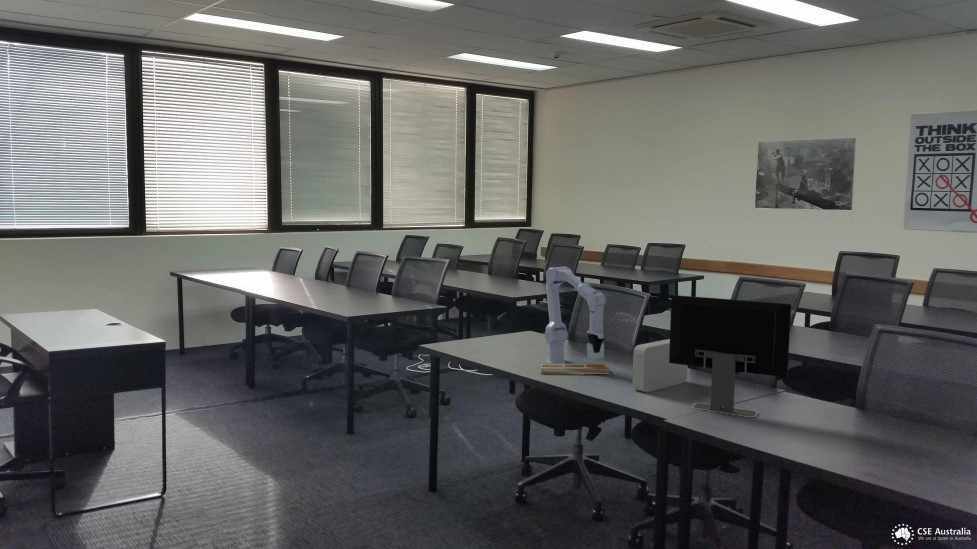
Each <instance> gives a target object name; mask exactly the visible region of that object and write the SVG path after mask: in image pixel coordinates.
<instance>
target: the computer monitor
mask: <svg viewBox="0 0 977 549" xmlns="http://www.w3.org/2000/svg"><path fill="white" fill-rule="evenodd" d="M791 316H792V304H791V303H787V302H783V303H782V302H770V301H758V300H757V301H755V300H746V299H745V300H743V299H733V298H732V299H731V298H717V297H705V296H704V297H703V296H694V295H693V296H692V295H691V296H690V295H678V294H673V295H671V297H670V325H669V339H670V350H669V363H673V364H681V365H688V366H691V367H697V368H699V367H700V368H703V370H705V369H706V368H707V369H711V386H710V388H711V390H710V403H706V402H705V403H704V402H695V403H694V404H693V405H692V406H691V408H694V409H693V410H695V409H698V410H697V411H702V410H707V411H706V412H709V411H713V412H712V413H715V412H720V413H719V414H722V413H725V414H724V415H728V414H731V415H730V416H735V415H738V416H737V417H741V416H744V417H743V418H748V417H755V418H757V416H758V415H759V412H758V411H757V410H752V409H746V408H739V407H735V388H736V386H735V384H736V374H738V373H744V375H747V374H757V375H763V376H772V377H780V378H787V377H788V375H789V371H788V370H789V357H790V356H789V354H790V339H791V338H790V334H791V318H792V317H791Z"/></svg>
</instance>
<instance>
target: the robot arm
mask: <svg viewBox="0 0 977 549" xmlns="http://www.w3.org/2000/svg"><path fill="white" fill-rule="evenodd" d="M545 277H546V278H545V280H546V281H545V282H546V283H545V287H546V288H545V289H546V298H547V307H548V308H547V309H548V317H549V318H548V319H549V323H548V324H547V325H546V327H545V333H544V340H545V341H546V342H547V344H548V346H547V347H548V352H547V353H548V354H547V355H548V356H547V358H546V361H547V362H546V363H552V364H566V361H565V360H566V359H565V343H566V341H567V340H568V338H569V333H568V330H567V326H566V324H565V323H564V322H563V321H562V313H561V302H560V293H559V292H560V291H559V288H560V286H562V284H563V283H565V282H567V283H568V284H570V285H571V286H573V287H574V288H575V289H577V293H578V294H579V295H580V296H581V297H582V298H583V299H584V300H586V302H587V305H588V309H589V328H588V330H586V333H587V337H588V339H589V343H593V348H594V353H599V352H600V348H601V345H602V343H604V340H605V337H604V336H605V335H604V306H605V305H606V303H607V296H606V295H605V294H604V293H603V292H598V291H597V289H595V288H594V287H592V286H591V284H590V283H586V282H584V283H583V282H582V281H581V280H580V279H579V278H578V277H577V276H576V275H575V273H573V271H572V269H571V268H569V267H568V266H565V265H564V266H557V267H553V266H552V267H549V268H548V269H547V270H546V271H545Z"/></svg>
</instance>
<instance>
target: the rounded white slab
mask: <svg viewBox="0 0 977 549" xmlns="http://www.w3.org/2000/svg"><path fill="white" fill-rule="evenodd" d="M669 350H670V338H668V339H667V338H666V339H663V340H658V341H653V342H652V341H651V342H648V343H647V342H646V343H643V344H641V343H640V344H637V345H636V346H635V347H634V349H633V356H632V360H633V361H632V388H633V390H635V391H639V392H644V393H650V391H651V392H654V390H655V391H657V389H658V390H662V389H665V388H670V387H673V386H676V385H681V383H682V384H684V383H685V382H686V381H687V379H688V370H689V369H688V366H689V365H681V364H673V363H669ZM669 386H670V387H669Z"/></svg>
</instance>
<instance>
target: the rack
mask: <svg viewBox="0 0 977 549" xmlns="http://www.w3.org/2000/svg"><path fill="white" fill-rule="evenodd" d="M539 366H540V368H539V370H540V374H542V375H543V374H544V375H584V374H609V375H610V368H609V366H608V364H606V363H591V362H589V363H588V362H587V363H565V364H552V363H547V362H546V363H543V362H541V363H540V365H539Z"/></svg>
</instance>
